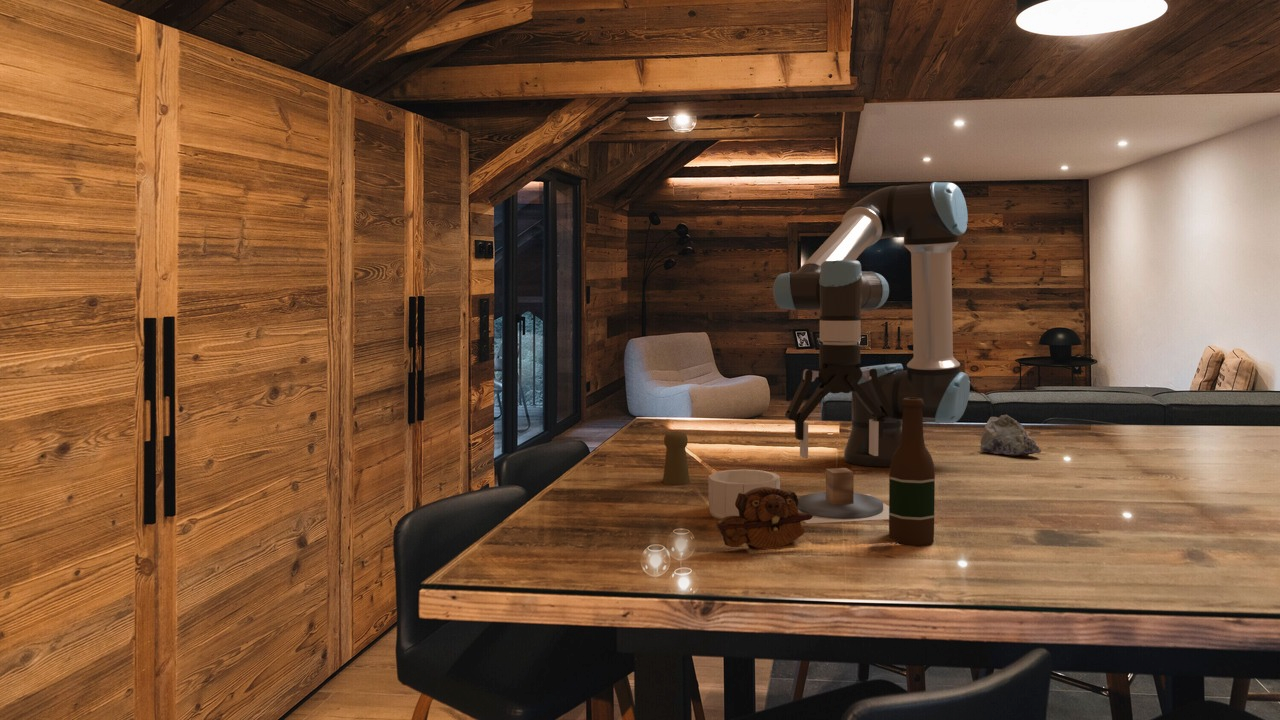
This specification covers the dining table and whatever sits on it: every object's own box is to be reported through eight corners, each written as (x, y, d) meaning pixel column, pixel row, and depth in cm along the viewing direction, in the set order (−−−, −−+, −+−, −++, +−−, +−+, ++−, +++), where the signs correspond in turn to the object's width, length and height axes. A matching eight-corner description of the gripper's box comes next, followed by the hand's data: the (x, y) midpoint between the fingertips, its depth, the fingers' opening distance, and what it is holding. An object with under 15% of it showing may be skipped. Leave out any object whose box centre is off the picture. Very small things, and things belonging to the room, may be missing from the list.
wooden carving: (727, 558, 146) (726, 496, 146) (714, 550, 151) (714, 490, 150) (817, 546, 152) (817, 486, 151) (803, 539, 156) (803, 481, 155)
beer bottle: (880, 534, 158) (881, 396, 156) (924, 533, 159) (926, 394, 157) (897, 547, 150) (898, 402, 148) (943, 545, 151) (945, 400, 149)
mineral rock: (1043, 460, 220) (1044, 418, 219) (1000, 461, 219) (1001, 419, 218) (1016, 450, 233) (1017, 410, 232) (975, 451, 232) (976, 412, 231)
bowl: (768, 503, 182) (768, 468, 181) (787, 520, 169) (787, 482, 168) (703, 506, 180) (703, 471, 179) (717, 523, 167) (717, 485, 166)
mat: (868, 497, 185) (868, 494, 185) (908, 521, 166) (908, 518, 166) (776, 501, 183) (776, 498, 183) (806, 526, 164) (806, 523, 164)
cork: (687, 485, 198) (687, 435, 197) (660, 484, 200) (659, 434, 199) (692, 479, 204) (691, 430, 203) (665, 478, 205) (664, 430, 205)
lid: (864, 496, 184) (864, 460, 183) (897, 516, 168) (897, 477, 167) (786, 500, 181) (786, 464, 181) (812, 521, 166) (812, 481, 165)
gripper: (895, 341, 177) (894, 450, 179) (769, 343, 174) (769, 454, 176) (912, 343, 170) (910, 457, 171) (780, 345, 167) (780, 461, 168)
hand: (838, 456), depth 173 cm, fingers open, 13 cm apart
